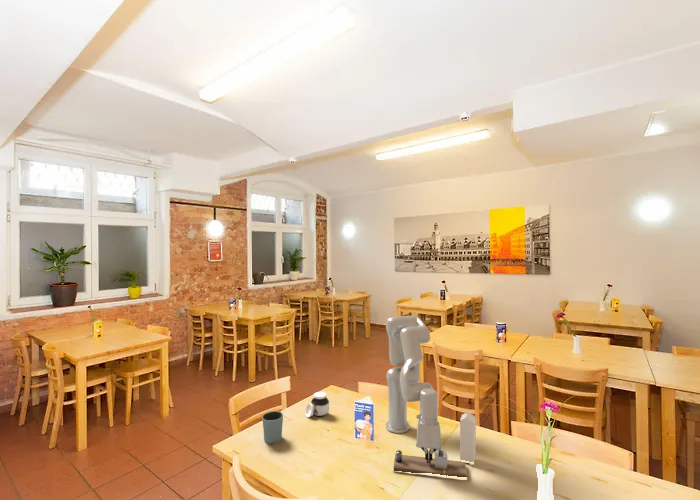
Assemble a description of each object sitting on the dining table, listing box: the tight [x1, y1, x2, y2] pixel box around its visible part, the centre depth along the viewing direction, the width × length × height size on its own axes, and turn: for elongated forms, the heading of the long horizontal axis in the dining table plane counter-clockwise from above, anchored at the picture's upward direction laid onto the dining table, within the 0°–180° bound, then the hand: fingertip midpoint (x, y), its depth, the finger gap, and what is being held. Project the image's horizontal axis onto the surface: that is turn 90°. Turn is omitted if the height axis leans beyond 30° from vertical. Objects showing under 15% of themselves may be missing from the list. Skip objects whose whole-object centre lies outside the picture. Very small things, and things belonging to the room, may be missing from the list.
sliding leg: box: [434, 449, 448, 469], centre depth 153 cm, size 5×5×6 cm
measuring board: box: [393, 453, 468, 478], centre depth 154 cm, size 10×30×2 cm, turn 78°
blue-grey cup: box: [261, 410, 284, 445], centre depth 178 cm, size 10×10×12 cm
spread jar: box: [305, 391, 330, 418], centre depth 203 cm, size 12×11×12 cm
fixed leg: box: [395, 449, 403, 463], centre depth 156 cm, size 2×2×4 cm
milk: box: [459, 409, 477, 462], centre depth 160 cm, size 6×6×22 cm
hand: (428, 461), depth 154 cm, fingers closed
